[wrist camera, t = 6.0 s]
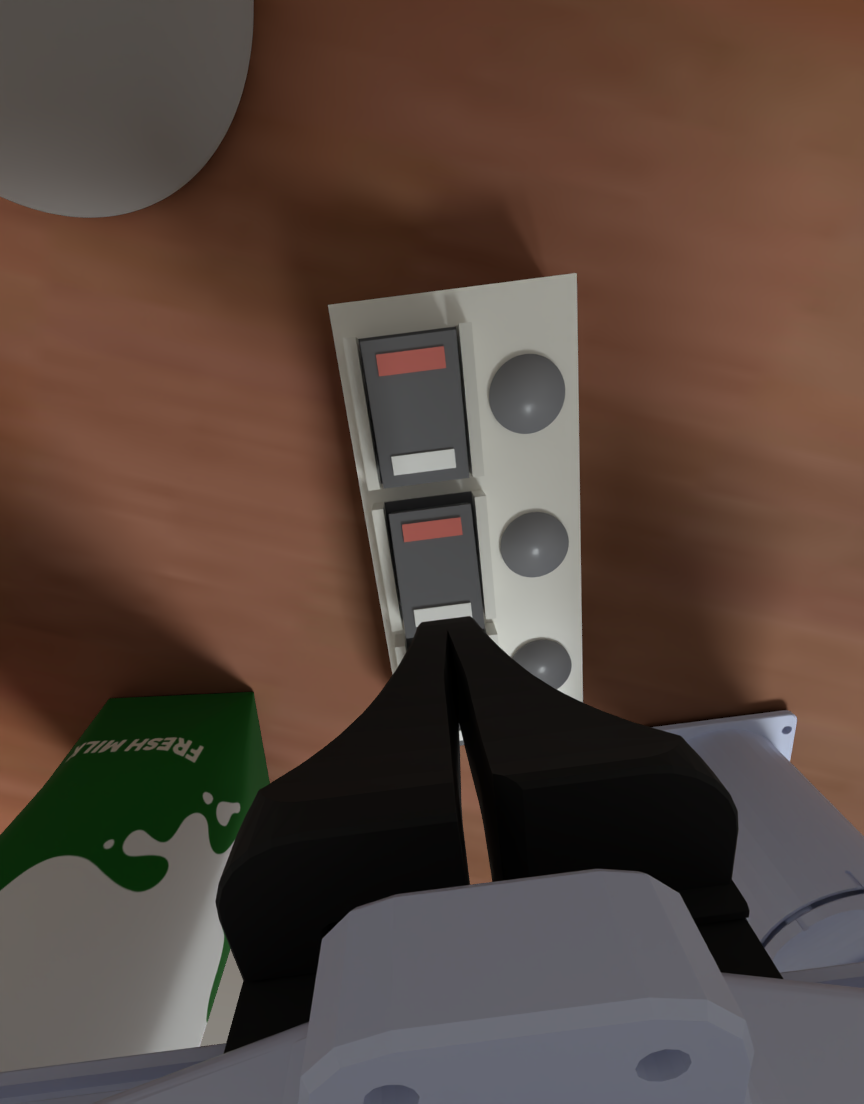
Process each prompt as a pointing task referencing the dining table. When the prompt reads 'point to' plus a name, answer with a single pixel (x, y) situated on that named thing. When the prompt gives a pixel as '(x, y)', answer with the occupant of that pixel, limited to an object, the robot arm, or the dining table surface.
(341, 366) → the switch panel
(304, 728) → the dining table surface
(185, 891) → the milk carton
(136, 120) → the cylinder vase
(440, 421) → the rocker
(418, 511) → the rocker
